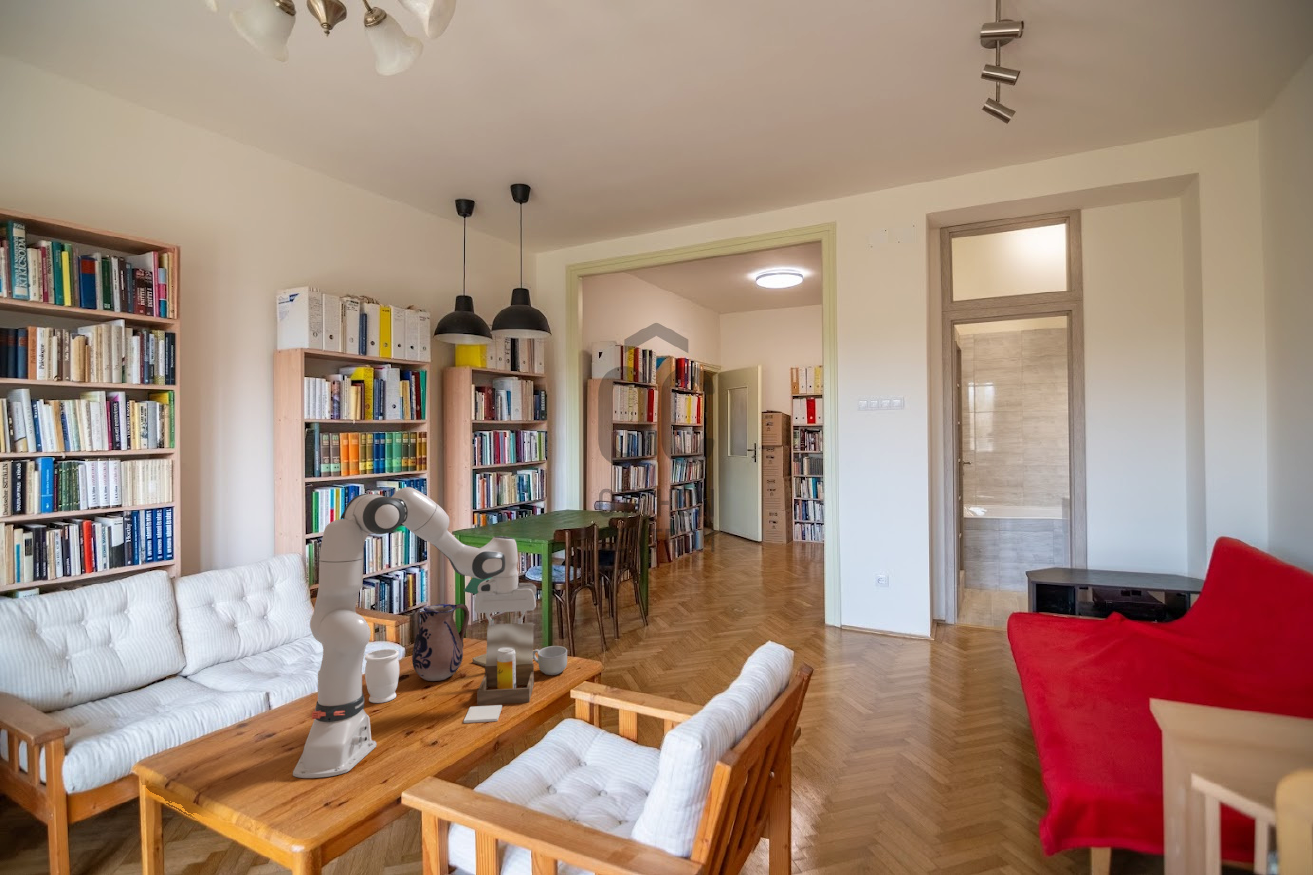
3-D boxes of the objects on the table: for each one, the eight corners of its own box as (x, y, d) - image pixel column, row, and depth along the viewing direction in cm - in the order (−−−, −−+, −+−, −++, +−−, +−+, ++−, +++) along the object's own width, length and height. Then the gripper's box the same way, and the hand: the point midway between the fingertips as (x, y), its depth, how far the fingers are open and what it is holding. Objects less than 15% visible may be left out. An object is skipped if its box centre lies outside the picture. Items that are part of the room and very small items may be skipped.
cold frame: (529, 702, 205) (528, 639, 205) (477, 705, 204) (476, 642, 204) (535, 678, 226) (534, 621, 226) (487, 681, 224) (487, 624, 224)
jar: (405, 692, 215) (404, 648, 215) (389, 705, 205) (389, 659, 205) (376, 692, 216) (375, 648, 216) (358, 704, 206) (358, 658, 206)
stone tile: (497, 721, 192) (497, 718, 192) (463, 723, 191) (463, 720, 191) (502, 707, 201) (502, 704, 201) (470, 709, 200) (470, 706, 200)
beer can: (500, 690, 216) (499, 646, 216) (518, 690, 215) (517, 646, 215) (495, 697, 209) (494, 652, 210) (513, 697, 209) (512, 652, 209)
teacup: (573, 670, 233) (573, 648, 234) (553, 679, 224) (553, 657, 224) (545, 663, 241) (545, 642, 241) (525, 672, 232) (525, 651, 232)
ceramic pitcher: (402, 679, 227) (401, 610, 227) (451, 662, 244) (450, 597, 245) (432, 689, 217) (431, 617, 217) (481, 671, 234) (480, 603, 235)
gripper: (537, 580, 217) (537, 620, 217) (476, 582, 215) (477, 623, 215) (535, 584, 211) (536, 625, 211) (472, 587, 209) (473, 628, 209)
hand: (506, 624), depth 213 cm, fingers open, 8 cm apart
